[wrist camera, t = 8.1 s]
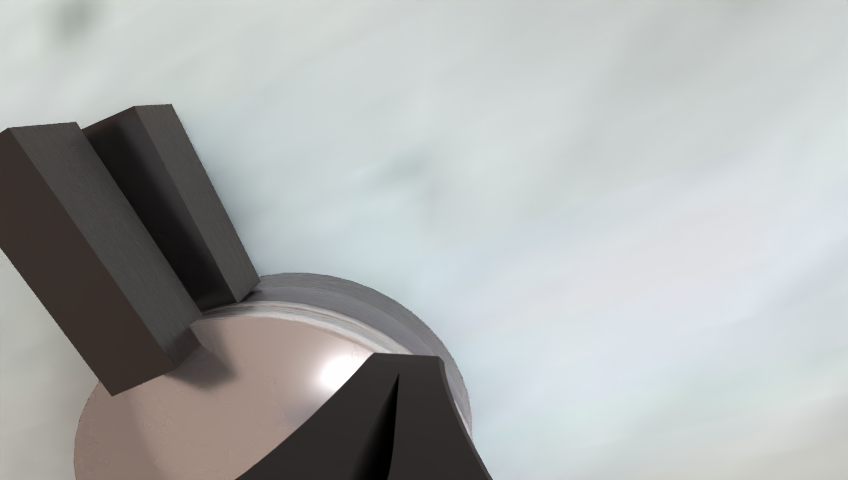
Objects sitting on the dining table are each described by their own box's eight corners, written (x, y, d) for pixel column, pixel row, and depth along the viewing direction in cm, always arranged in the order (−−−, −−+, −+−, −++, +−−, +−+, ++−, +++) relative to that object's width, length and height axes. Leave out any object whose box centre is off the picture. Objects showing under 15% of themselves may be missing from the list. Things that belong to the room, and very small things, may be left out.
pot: (531, 535, 22) (543, 612, 19) (262, 593, 25) (231, 671, 22) (331, 40, 17) (299, 27, 13) (6, 182, 19) (-90, 202, 16)
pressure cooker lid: (543, 571, 18) (555, 640, 16) (228, 658, 21) (200, 726, 19) (250, 22, 13) (205, 7, 11) (-113, 235, 16) (-209, 259, 14)
